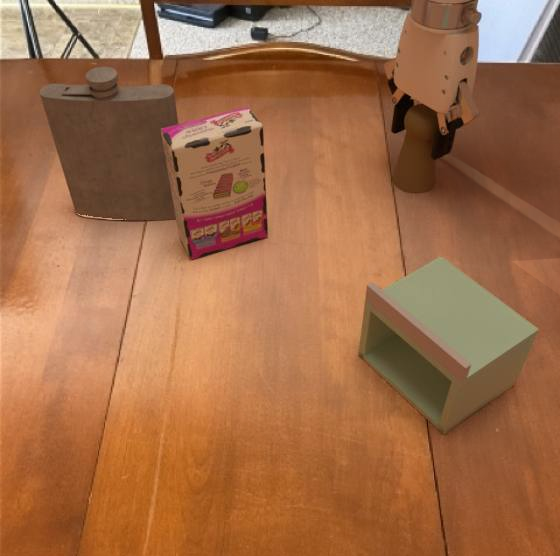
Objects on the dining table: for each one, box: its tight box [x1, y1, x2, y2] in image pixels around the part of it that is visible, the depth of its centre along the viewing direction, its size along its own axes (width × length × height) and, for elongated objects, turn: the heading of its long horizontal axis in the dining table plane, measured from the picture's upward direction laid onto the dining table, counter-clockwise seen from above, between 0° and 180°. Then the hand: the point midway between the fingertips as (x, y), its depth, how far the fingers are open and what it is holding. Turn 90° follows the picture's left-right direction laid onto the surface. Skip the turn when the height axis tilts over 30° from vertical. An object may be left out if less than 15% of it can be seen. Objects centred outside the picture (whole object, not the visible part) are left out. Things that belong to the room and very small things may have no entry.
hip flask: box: [39, 66, 179, 222], centre depth 86 cm, size 16×4×20 cm, turn 88°
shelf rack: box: [357, 255, 540, 436], centre depth 71 cm, size 11×14×11 cm
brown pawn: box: [392, 103, 440, 194], centre depth 93 cm, size 6×6×11 cm
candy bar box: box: [161, 106, 269, 260], centre depth 84 cm, size 11×5×16 cm, turn 114°
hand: (420, 141), depth 93 cm, fingers open, 7 cm apart
